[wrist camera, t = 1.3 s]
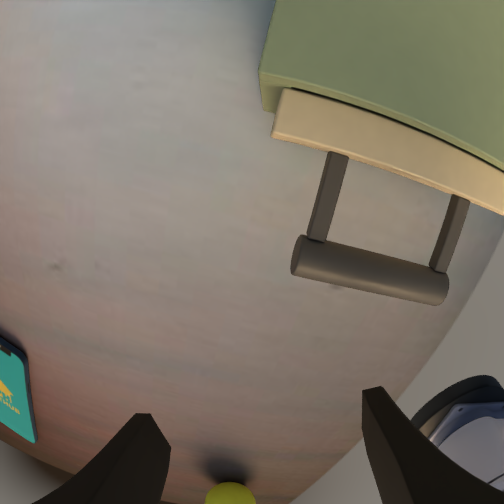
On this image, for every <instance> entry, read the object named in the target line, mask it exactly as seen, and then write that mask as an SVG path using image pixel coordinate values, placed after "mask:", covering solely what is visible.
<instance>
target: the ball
mask: <svg viewBox="0 0 504 504" xmlns="http://www.w3.org/2000/svg"><path fill="white" fill-rule="evenodd" d="M205 504H256V503H255V498H254V496H253V494H252V492H251V491H250V490H249V489H248V488H247V487H245V486H244V485H242V484H239V483H235V482H224V483H220V484H218V485H216V486H214V487H213V488H212V489H211V490H210V491H209V492H208V494H207V496H206V499H205Z"/></svg>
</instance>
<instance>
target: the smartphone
mask: <svg viewBox="0 0 504 504" xmlns="http://www.w3.org/2000/svg"><path fill="white" fill-rule="evenodd" d="M0 421H1V422H2V423H4V424H5V425H6V426H8V427H9V428H11V429H12V430H14V431H15V432H16V433H18V434H19V435H21V436H22V437H24V438H25V439H27V440H28V441H30V442H32V443H36V442H37V440H38V436H37V431H36V425H35V419H34V413H33V406H32V398H31V390H30V380H29V368H28V360H27V358H26V356H25V355H24V354H23V353H22V352H21V351H20V350H18V349H17V348H15V347H14V346H12V345H11V344H10V343H8V342H7V341H5V340H4V339H2V338H1V337H0Z"/></svg>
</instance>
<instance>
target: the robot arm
mask: <svg viewBox="0 0 504 504" xmlns="http://www.w3.org/2000/svg"><path fill="white" fill-rule="evenodd" d="M362 432H363V437H364V442H365V446H366V451H367V455H368V458H369V462H370V465H371V468H372V471H373V474H374V477H375V480H376V484H377V487H378V490H379V493H380V496H381V500H382V503H383V504H504V401H503V402H488V403H464V404H455V405H454V406H453V407H452V408H451V410H450V411H449V412H448V414H447V415H446V416H445V418H444V419H443V420H442V421H441V423H440V424H439V425H438V427H437V428H436V429H435V430H434V432H433V433H432V434H431V435H430V436H429V438H428V439H427V438H426V437H425V436H424V435H423V434H422V433H421V432H420V431H419V430H418V428H417V427H416V426H415V425H414V424H413V423H412V422H411V421H410V420H409V419H408V418H407V417H406V416H405V414H403V412H402V411H401V410H400V408H399V407H398V406H397V405H396V404H395V402H394V401H393V400H392V399H391V397H390V396H389V395H388V393H387V392H386V391H385V389H384V388H383V387H381V386H379V387H375V388H370V389H366V390H362ZM170 452H171V446H170V445H169V443H168V442H167V440H166V439H165V437H164V435H163V434H162V432H161V431H160V429H159V427H158V426H157V424H156V422H155V421H154V419H153V417H152V416H151V414H146V413H136V414H135V415H134V416H133V417H132V418H131V419H130V420H129V421H128V422H127V423H126V424H125V425H124V426H123V427H122V428H121V430H120V431H119V432H118V433H117V434H116V435H115V436H114V437H113V438H112V439H111V440H110V441H109V443H108V444H107V445H106V446H105V447H104V448H103V449H102V450H101V451H100V452H99V453H98V454H97V455H96V456H95V457H94V458H93V459H92V460H91V461H90V462H89V463H88V464H87V465H86V466H85V467H84V468H82V469H81V470H80V471H79V472H78V473H77V474H76V475H74V477H72V478H71V479H70V480H68V481H67V482H66V483H64V484H63V485H62V486H60V487H59V488H58V489H56V490H54V491H53V492H51V493H50V494H48V495H46V496H45V497H43V498H42V499H40V500H38V501H36V502H34V503H32V504H159V503H160V499H161V496H162V492H163V489H164V485H165V481H166V477H167V474H168V469H169V461H170Z"/></svg>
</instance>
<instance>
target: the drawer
mask: <svg viewBox="0 0 504 504" xmlns="http://www.w3.org/2000/svg"><path fill="white" fill-rule="evenodd" d="M271 137H272V138H275V139H280V140H284V141H288V142H292V143H296V144H300V145H303V146H307V147H311V148H315V149H318V150H322V151H326V152H328V154H327V158H326V162H325V166H324V170H323V174H322V178H321V181H320V185H319V189H318V193H317V196H316V200H315V204H314V207H313V211H312V215H311V218H310V222H309V225H308V229H307V236H306V235H300V236H299V237H298V239H297V241H296V244H295V247H294V250H293V255H292V260H291V268H290V269H291V274H292V275H294V276H298V277H303V278H307V279H312V280H316V281H321V282H326V283H330V284H335V285H339V286H344V287H348V288H353V289H358V290H362V291H367V292H372V293H376V294H381V295H386V296H390V297H395V298H400V299H405V300H409V301H414V302H419V303H424V304H429V305H433V306H437V305H440V304H441V303H442V302H443V301H444V300H445V298H446V296H447V294H448V290H449V278H448V275H447V274H446V271H447V268H448V266H449V263H450V261H451V258H452V255H453V253H454V250H455V247H456V244H457V242H458V239H459V236H460V233H461V230H462V227H463V224H464V221H465V218H466V215H467V211H468V208H469V205H470V202H472V203H474V204H477V205H479V206H481V207H484V208H486V209H489V210H491V211H493V212H496V213H498V214H500V215H503V216H504V172H502V171H501V170H499V169H497V168H495V167H494V166H492V165H490V164H488V163H486V162H484V161H482V160H481V159H479V158H477V157H475V156H473V155H471V154H469V153H467V152H465V151H463V150H461V149H459V148H457V147H455V146H453V145H450V144H448V143H446V142H444V141H442V140H440V139H437V138H435V137H433V136H431V135H428V134H426V133H424V132H421V131H419V130H417V129H414V128H412V127H409V126H407V125H404V124H402V123H399V122H397V121H394V120H391V119H389V118H386V117H383V116H381V115H378V114H375V113H372V112H369V111H366V110H363V109H360V108H357V107H354V106H351V105H348V104H345V103H342V102H339V101H335V100H332V99H329V98H325V97H322V96H318V95H314V94H311V93H307V92H303V91H299V90H295V89H291V88H287V87H286V88H284V89H283V90H282V93H281V97H280V100H279V104H278V107H277V111H276V114H275V119H274V123H273V127H272V131H271ZM348 159H353V160H356V161H359V162H362V163H366V164H369V165H372V166H375V167H378V168H381V169H384V170H387V171H390V172H393V173H396V174H398V175H401V176H404V177H407V178H410V179H412V180H415V181H418V182H420V183H423V184H426V185H428V186H431V187H434V188H436V189H439V190H441V191H444V192H446V193H449V194H451V195H452V196H451V200H450V203H449V206H448V210H447V213H446V216H445V219H444V222H443V225H442V228H441V231H440V234H439V237H438V240H437V243H436V245H435V248H434V251H433V254H432V256H431V259H430V262H429V266H430V267H428V266H424V265H420V264H416V263H413V262H409V261H405V260H401V259H398V258H394V257H390V256H386V255H382V254H378V253H375V252H371V251H367V250H363V249H359V248H355V247H351V246H347V245H343V244H339V243H335V242H331V241H327V240H326V238H327V234H328V231H329V228H330V224H331V221H332V218H333V214H334V211H335V207H336V204H337V200H338V196H339V193H340V189H341V186H342V182H343V178H344V175H345V171H346V167H347V163H348Z"/></svg>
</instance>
